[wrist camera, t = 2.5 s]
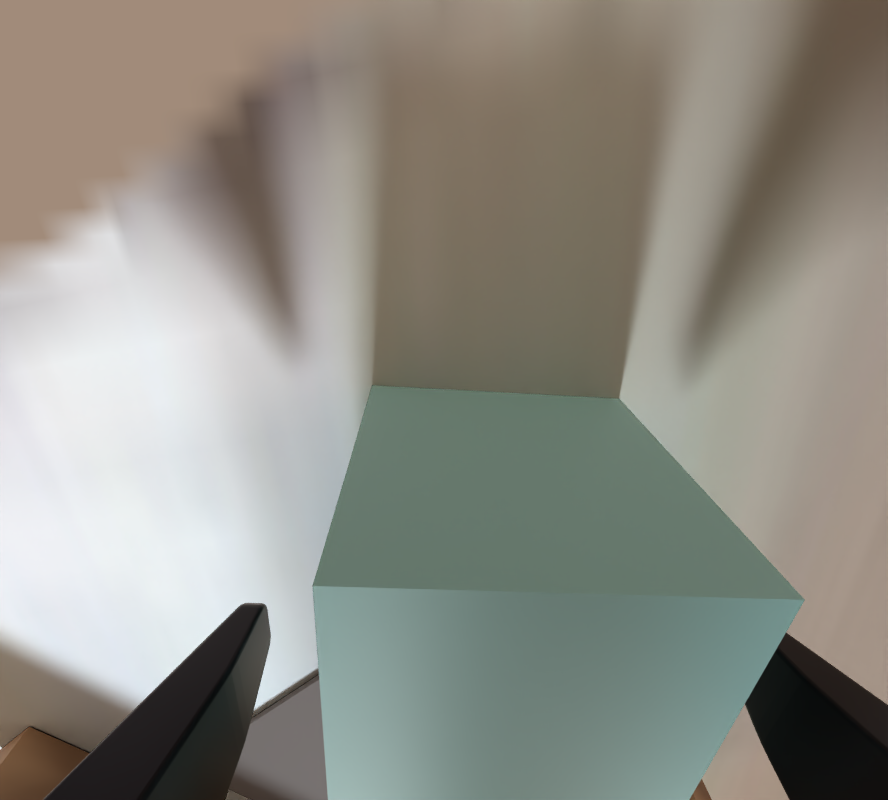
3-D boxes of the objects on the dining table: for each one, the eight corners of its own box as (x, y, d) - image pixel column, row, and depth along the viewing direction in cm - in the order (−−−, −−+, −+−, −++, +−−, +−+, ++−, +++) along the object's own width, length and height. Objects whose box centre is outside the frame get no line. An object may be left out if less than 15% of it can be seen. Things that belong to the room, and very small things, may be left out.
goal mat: (484, 762, 17) (485, 768, 17) (341, 835, 19) (341, 841, 19) (333, 665, 15) (331, 671, 14) (185, 761, 17) (183, 767, 16)
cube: (617, 397, 11) (804, 599, 5) (571, 577, 13) (667, 837, 8) (372, 384, 11) (312, 585, 5) (371, 571, 13) (330, 839, 8)
